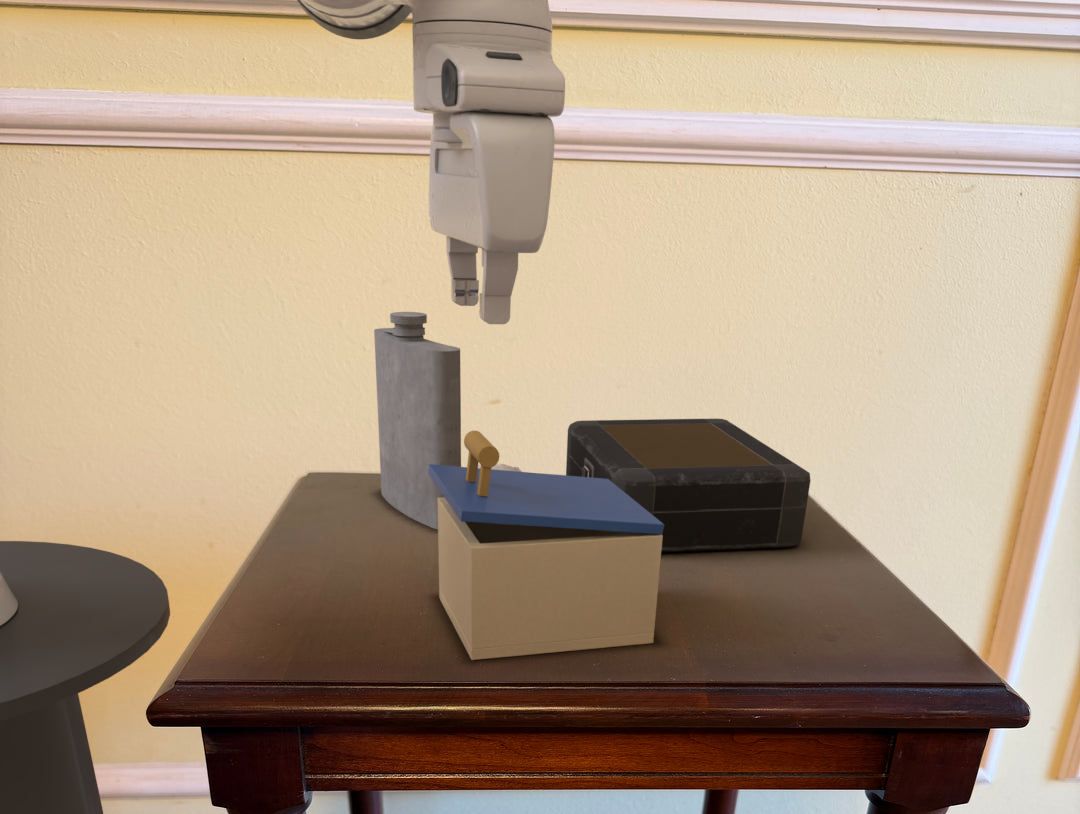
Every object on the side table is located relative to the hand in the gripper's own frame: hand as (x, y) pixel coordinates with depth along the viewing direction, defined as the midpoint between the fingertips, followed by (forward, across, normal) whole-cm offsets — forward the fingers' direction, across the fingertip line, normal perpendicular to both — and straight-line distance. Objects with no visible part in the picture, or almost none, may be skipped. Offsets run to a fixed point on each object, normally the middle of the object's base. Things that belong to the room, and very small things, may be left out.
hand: (478, 313), depth 72 cm
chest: (+24, +1, +6) cm, 24 cm away
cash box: (+24, -24, +27) cm, 44 cm away
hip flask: (+24, -31, 0) cm, 40 cm away
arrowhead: (+24, -40, +12) cm, 49 cm away
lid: (+14, +1, +5) cm, 15 cm away
